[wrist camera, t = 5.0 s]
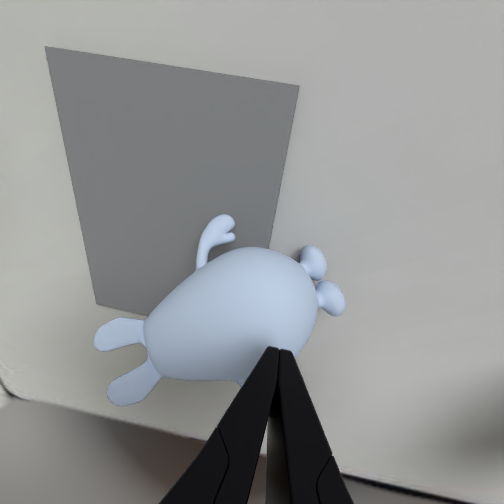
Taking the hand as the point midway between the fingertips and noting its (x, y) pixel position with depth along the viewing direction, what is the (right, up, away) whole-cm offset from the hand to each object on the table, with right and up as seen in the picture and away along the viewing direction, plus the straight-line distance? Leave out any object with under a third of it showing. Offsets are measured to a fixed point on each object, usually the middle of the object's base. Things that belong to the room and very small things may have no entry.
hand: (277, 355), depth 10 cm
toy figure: (+4, +2, +6) cm, 7 cm away
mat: (-6, +5, +7) cm, 11 cm away
